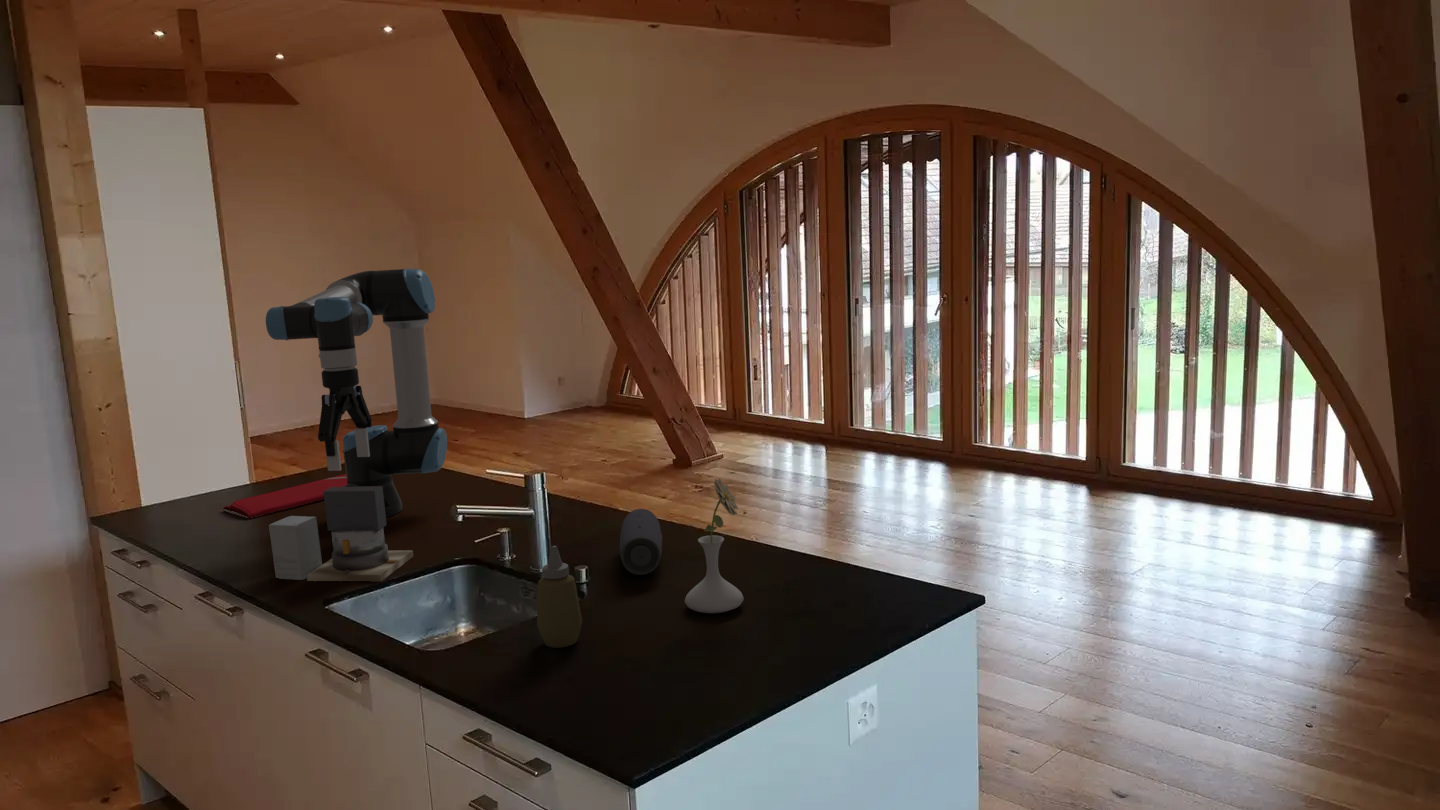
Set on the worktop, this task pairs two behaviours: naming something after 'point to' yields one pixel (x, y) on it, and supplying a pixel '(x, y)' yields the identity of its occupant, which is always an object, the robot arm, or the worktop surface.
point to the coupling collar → (355, 519)
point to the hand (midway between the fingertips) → (349, 463)
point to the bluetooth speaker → (640, 542)
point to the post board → (362, 574)
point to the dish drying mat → (285, 497)
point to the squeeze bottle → (558, 604)
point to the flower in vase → (715, 566)
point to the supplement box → (295, 547)
